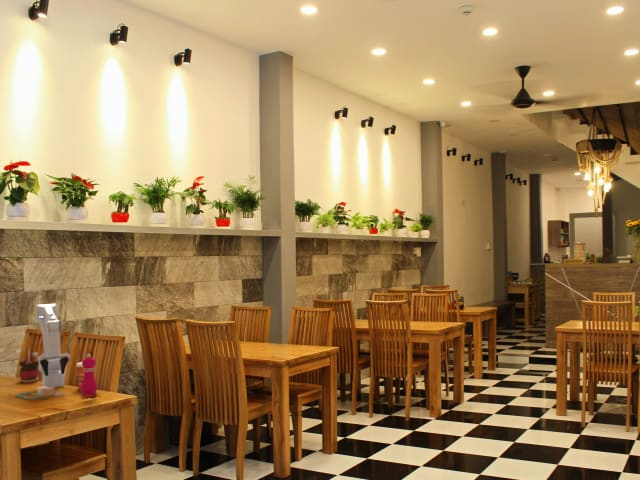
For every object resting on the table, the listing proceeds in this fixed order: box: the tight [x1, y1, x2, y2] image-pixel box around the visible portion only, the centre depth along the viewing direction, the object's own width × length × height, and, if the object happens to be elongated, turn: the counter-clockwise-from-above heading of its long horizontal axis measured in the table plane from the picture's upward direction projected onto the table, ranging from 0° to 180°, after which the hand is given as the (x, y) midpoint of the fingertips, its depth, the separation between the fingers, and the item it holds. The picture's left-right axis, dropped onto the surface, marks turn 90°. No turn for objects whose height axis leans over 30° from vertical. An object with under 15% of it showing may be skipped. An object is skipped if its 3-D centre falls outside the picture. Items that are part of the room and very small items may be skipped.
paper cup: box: [76, 361, 84, 391], centre depth 334 cm, size 8×8×14 cm
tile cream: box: [36, 385, 49, 395], centre depth 323 cm, size 4×4×3 cm
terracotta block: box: [43, 388, 56, 397], centre depth 319 cm, size 4×4×3 cm
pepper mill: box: [80, 353, 99, 400], centre depth 319 cm, size 7×7×20 cm
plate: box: [31, 391, 64, 398], centre depth 322 cm, size 10×14×2 cm
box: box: [15, 391, 46, 401], centre depth 316 cm, size 7×14×2 cm, turn 47°
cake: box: [18, 346, 40, 383], centre depth 369 cm, size 11×9×18 cm
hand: (54, 374), depth 328 cm, fingers open, 7 cm apart
